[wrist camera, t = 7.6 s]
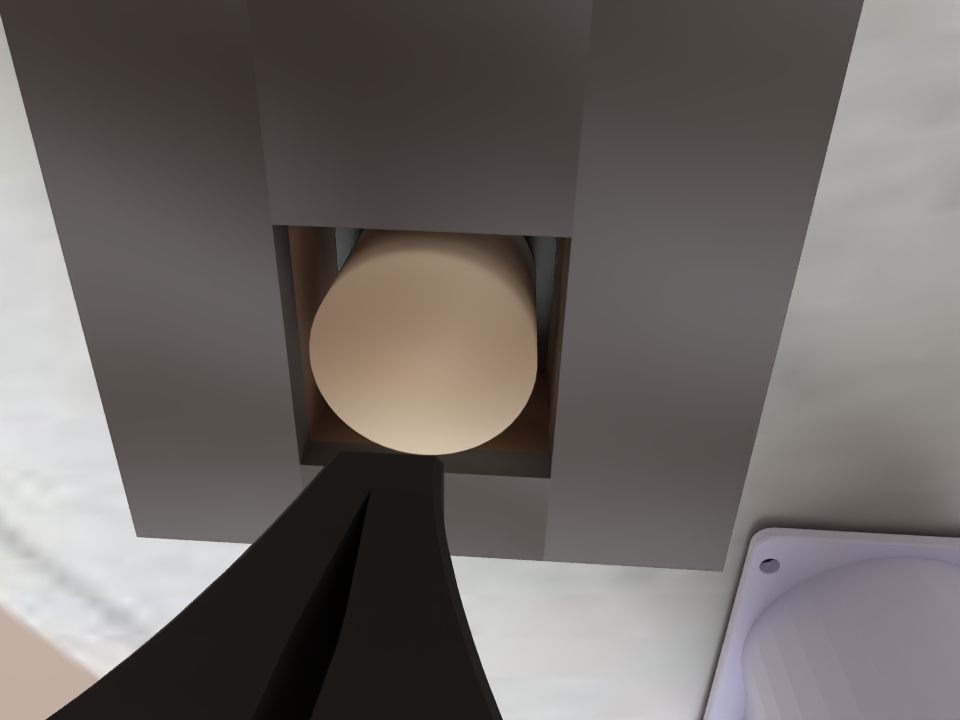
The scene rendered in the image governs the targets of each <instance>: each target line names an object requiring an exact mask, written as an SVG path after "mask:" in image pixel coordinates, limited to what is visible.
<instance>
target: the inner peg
mask: <svg viewBox="0 0 960 720" xmlns="http://www.w3.org/2000/svg"><path fill="white" fill-rule="evenodd" d="M309 353H310V362H311V368H312V372H313V375H314V378H315V381H316V383H317V385H318V388H319V390H320V392H321V394H322V395H323V397H324V398H325V400H326V402H327V403H328V405H329V406H330V407H331V408H332V410H333V411H334V412H335V413H336V414H337V416H339V417H340V418H341V419H342V420H343V421H344V422H345V423H346V424H347V425H348V426H350V427H351V428H352V429H354V430H355V431H356V432H358V433H359V434H361V435H362V436H364V437H366V438H368V439H369V440H371V441H373V442H376V443H378V444H380V445H382V446H385V447H388V448H391V449H394V450H397V451H402V452H407V453H412V454H422V455H441V454H450V453H455V452H460V451H464V450H467V449H470V448H473V447H476V446H479V445H481V444H483V443H485V442H487V441H489V440H491V439H492V438H494V437H495V436H497V435H498V434H500V433H501V432H502V431H503V430H505V429H506V428H507V427H508V426H509V425H511V423H512V422H513V421H514V420H515V419H516V418H517V417H518V416H519V414H520V413H521V411H522V410H523V408H524V407H525V405H526V404H527V401H528V399H529V397H530V395H531V393H532V390H533V387H534V383H535V380H536V373H537V320H536V273H535V266H534V261H533V257H532V254H531V251H530V249H529V246H528V244H527V242H526V240H525V238H524V237H523V235H501V234H478V233H455V232H432V231H408V230H385V229H364V230H363V231H362V233H361V234H360V236H359V238H358V240H357V242H356V243H355V245H354V247H353V249H352V250H351V252H350V254H349V256H348V257H347V259H346V261H345V263H344V265H343V266H342V268H341V270H340V272H339V273H338V275H337V277H336V279H335V280H334V282H333V284H332V286H331V287H330V289H329V291H328V293H327V295H326V296H325V298H324V300H323V302H322V303H321V305H320V307H319V309H318V311H317V314H316V316H315V318H314V322H313V325H312V328H311V334H310V342H309Z"/></svg>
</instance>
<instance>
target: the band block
mask: <svg viewBox="0 0 960 720" xmlns="http://www.w3.org/2000/svg"><path fill="white" fill-rule="evenodd" d="M863 2H864V0H0V14H1V18H2V22H3V26H4V30H5V34H6V37H7V41H8V45H9V49H10V53H11V57H12V60H13V64H14V68H15V72H16V76H17V80H18V83H19V87H20V91H21V95H22V99H23V103H24V106H25V110H26V114H27V118H28V122H29V125H30V129H31V133H32V137H33V141H34V145H35V148H36V152H37V156H38V160H39V164H40V168H41V171H42V175H43V179H44V183H45V187H46V191H47V194H48V198H49V202H50V206H51V210H52V214H53V217H54V221H55V225H56V229H57V233H58V236H59V240H60V244H61V248H62V252H63V256H64V259H65V263H66V267H67V271H68V275H69V279H70V282H71V286H72V290H73V294H74V298H75V302H76V305H77V309H78V313H79V317H80V321H81V325H82V328H83V332H84V336H85V340H86V344H87V347H88V351H89V355H90V359H91V363H92V367H93V370H94V374H95V378H96V382H97V386H98V390H99V393H100V397H101V401H102V405H103V409H104V413H105V416H106V420H107V424H108V428H109V432H110V436H111V439H112V443H113V447H114V451H115V455H116V458H117V462H118V466H119V470H120V474H121V478H122V481H123V485H124V489H125V493H126V497H127V501H128V504H129V508H130V512H131V516H132V520H133V524H134V527H135V531H136V535H137V537H145V538H162V539H179V540H196V541H213V542H230V543H247V544H253V543H254V542H255V541H256V540H257V539H258V538H259V537H260V536H261V535H262V534H263V533H264V532H265V531H266V530H267V529H268V528H269V527H270V526H271V525H272V524H273V522H274V521H275V520H276V519H277V518H278V517H279V516H280V515H281V514H282V513H283V512H284V511H285V510H286V509H287V507H288V506H289V505H290V504H291V503H292V502H293V501H294V500H295V499H296V498H297V497H298V496H299V494H300V493H301V492H302V491H303V490H304V489H305V488H306V487H307V486H308V484H309V483H310V482H311V481H312V480H313V479H314V478H315V476H316V475H317V474H318V473H319V472H320V471H321V470H322V469H323V467H324V466H325V465H326V464H327V463H328V462H329V461H330V459H331V458H332V457H334V456H335V455H336V454H337V453H338V452H340V451H353V452H371V453H388V454H406V455H422V454H412V453H407V452H402V451H397V450H394V449H391V448H388V447H385V446H382V445H380V444H378V443H376V442H373V441H371V440H369V439H368V438H366V437H364V436H362V435H361V434H359V433H358V432H356V431H355V430H354V429H352V428H351V427H350V426H348V425H347V424H346V423H345V422H344V421H343V420H342V419H341V418H340V417H339V416H337V414H336V413H335V412H334V411H333V410H332V408H331V407H330V406H329V405H328V403H327V402H326V400H325V398H324V397H323V395H322V394H321V392H320V390H319V388H318V385H317V383H316V381H315V378H314V375H313V372H312V368H311V362H310V353H309V342H310V334H311V328H312V325H313V322H314V318H315V316H316V314H317V311H318V309H319V307H320V305H321V303H322V302H323V300H324V298H325V296H326V295H327V293H328V291H329V289H330V287H331V286H332V284H333V282H334V280H335V279H336V277H337V275H338V271H337V257H336V244H335V230H334V227H338V228H362V229H385V230H408V231H432V232H455V233H478V234H501V235H525V236H548V237H557V243H556V255H555V268H554V281H553V294H552V307H551V319H550V332H549V345H548V358H547V370H546V373H545V372H537V373H536V380H535V383H534V387H533V390H532V393H531V395H530V397H529V399H528V401H527V404H526V405H525V407H524V408H523V410H522V411H521V413H520V414H519V416H518V417H517V418H516V419H515V420H514V421H513V422H512V423H511V425H509V426H508V427H507V428H506V429H505V430H503V431H502V432H501V433H500V434H498V435H497V436H495V437H494V438H492V439H491V440H489V441H487V442H485V443H483V444H481V445H479V446H476V447H473V448H470V449H467V450H464V451H460V452H455V453H450V454H441V455H423V456H436V457H437V458H438V459H439V460H440V461H441V462H442V463H443V464H444V524H445V531H446V537H447V543H448V548H449V552H450V555H451V556H468V557H485V558H502V559H519V560H536V561H553V562H570V563H587V564H604V565H621V566H638V567H654V568H671V569H688V570H705V571H722V572H723V568H724V563H725V559H726V555H727V551H728V547H729V543H730V539H731V535H732V531H733V527H734V523H735V519H736V515H737V511H738V507H739V503H740V499H741V495H742V491H743V487H744V483H745V479H746V475H747V471H748V467H749V462H750V458H751V454H752V450H753V446H754V442H755V438H756V434H757V430H758V426H759V422H760V418H761V414H762V410H763V406H764V402H765V398H766V394H767V390H768V386H769V382H770V378H771V374H772V370H773V366H774V362H775V357H776V353H777V349H778V345H779V341H780V337H781V333H782V329H783V325H784V321H785V317H786V313H787V309H788V305H789V301H790V297H791V293H792V289H793V285H794V281H795V277H796V273H797V269H798V265H799V261H800V256H801V252H802V248H803V244H804V240H805V236H806V232H807V228H808V224H809V220H810V216H811V212H812V208H813V204H814V200H815V196H816V192H817V188H818V184H819V180H820V176H821V172H822V168H823V164H824V160H825V156H826V151H827V147H828V143H829V139H830V135H831V131H832V127H833V123H834V119H835V115H836V111H837V107H838V103H839V99H840V95H841V91H842V87H843V83H844V79H845V75H846V71H847V67H848V63H849V59H850V55H851V50H852V46H853V42H854V38H855V34H856V30H857V26H858V22H859V18H860V14H861V10H862V6H863Z"/></svg>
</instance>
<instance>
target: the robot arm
mask: <svg viewBox="0 0 960 720" xmlns="http://www.w3.org/2000/svg"><path fill="white" fill-rule="evenodd" d="M766 559H773V560H772V561H770V562H766V563H762V561H764V560H766ZM46 720H503V719H502V716H501V714H500V711H499V709H498V706H497V704H496V701H495V699H494V696H493V694H492V691H491V689H490V686H489V683H488V681H487V678H486V675H485V672H484V670H483V667H482V664H481V661H480V658H479V655H478V653H477V650H476V647H475V644H474V641H473V637H472V634H471V631H470V628H469V625H468V621H467V618H466V615H465V612H464V608H463V605H462V601H461V598H460V594H459V590H458V587H457V582H456V578H455V574H454V569H453V565H452V561H451V556H450V552H449V548H448V543H447V537H446V531H445V524H444V464H443V463H442V462H441V461H440V460H439V459H438V458H437V457H436V456H423V455H406V454H388V453H371V452H353V451H340V452H338V453H337V454H336V455H335V456H334V457H332V458H331V459H330V461H329V462H328V463H327V464H326V465H325V466H324V467H323V469H322V470H321V471H320V472H319V473H318V474H317V475H316V476H315V478H314V479H313V480H312V481H311V482H310V483H309V484H308V486H307V487H306V488H305V489H304V490H303V491H302V492H301V493H300V494H299V496H298V497H297V498H296V499H295V500H294V501H293V502H292V503H291V504H290V505H289V506H288V507H287V509H286V510H285V511H284V512H283V513H282V514H281V515H280V516H279V517H278V518H277V519H276V520H275V521H274V522H273V524H272V525H271V526H270V527H269V528H268V529H267V530H266V531H265V532H264V533H263V534H262V535H261V536H260V537H259V538H258V539H257V540H256V541H255V542H254V543H253V544H252V545H251V546H250V547H249V548H248V549H247V550H246V551H245V552H244V553H243V554H242V555H241V556H240V557H239V558H238V559H237V560H236V561H235V562H234V563H233V564H232V565H231V566H230V567H229V568H228V569H227V570H226V571H225V572H224V573H223V574H222V575H221V576H220V577H218V578H217V579H216V580H215V581H214V582H213V583H212V584H211V585H210V586H209V587H208V588H207V589H205V590H204V591H203V592H202V593H201V594H200V595H199V596H198V597H197V598H196V599H195V600H194V601H193V602H191V603H190V604H189V605H188V606H187V607H186V608H185V609H184V610H183V611H182V612H181V613H180V614H178V615H177V616H176V617H175V618H174V619H173V620H172V621H171V622H169V623H168V624H167V625H166V626H165V627H164V628H162V629H161V630H160V631H159V632H158V633H157V634H155V635H154V636H153V637H152V638H151V639H150V640H148V641H147V642H146V643H145V644H144V645H142V646H141V647H140V648H139V649H138V650H136V651H135V652H134V653H133V654H131V655H130V656H129V657H128V658H126V659H125V660H124V661H123V662H121V663H120V664H119V665H118V666H116V667H115V668H114V669H113V670H111V671H110V672H109V673H108V674H106V675H105V676H104V677H103V678H101V679H100V680H99V681H97V682H96V683H95V684H94V685H93V686H91V687H90V688H88V689H87V690H86V691H84V692H83V693H82V694H80V695H79V696H78V697H77V698H75V699H74V700H72V701H71V702H69V703H68V704H67V705H65V706H64V707H63V708H61V709H60V710H58V711H57V712H56V713H54V714H53V715H52V716H50V717H49V718H47V719H46ZM703 720H960V538H951V537H933V536H915V535H898V534H880V533H862V532H845V531H827V530H809V529H792V528H766V529H763V530H761V531H759V532H757V533H756V534H755V535H754V536H753V538H752V539H751V541H750V545H749V549H748V553H747V556H746V560H745V564H744V568H743V572H742V575H741V579H740V583H739V587H738V590H737V594H736V598H735V602H734V605H733V609H732V613H731V617H730V621H729V624H728V628H727V632H726V636H725V639H724V643H723V647H722V651H721V655H720V658H719V662H718V666H717V670H716V673H715V677H714V681H713V685H712V688H711V692H710V696H709V700H708V704H707V707H706V711H705V715H704V719H703Z"/></svg>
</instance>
